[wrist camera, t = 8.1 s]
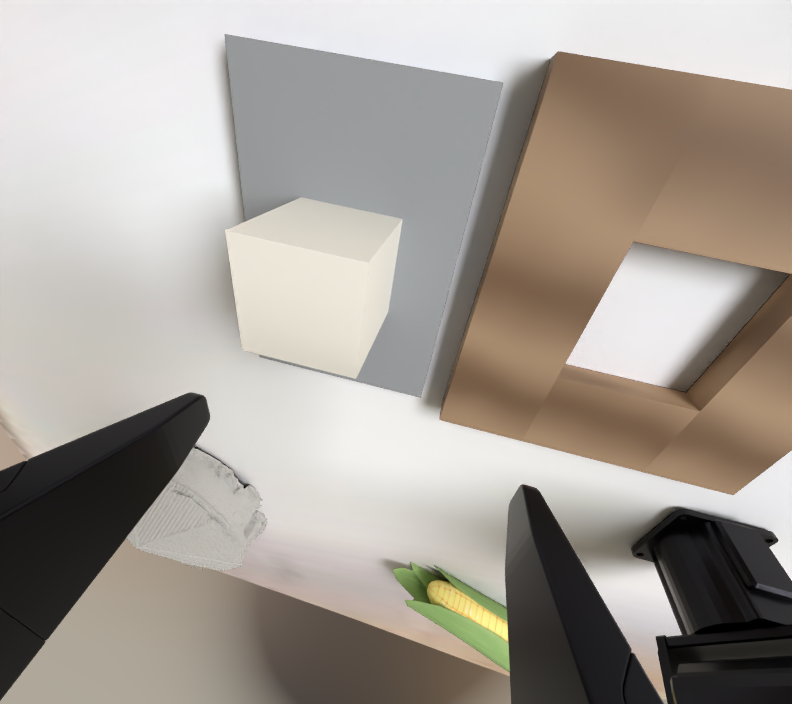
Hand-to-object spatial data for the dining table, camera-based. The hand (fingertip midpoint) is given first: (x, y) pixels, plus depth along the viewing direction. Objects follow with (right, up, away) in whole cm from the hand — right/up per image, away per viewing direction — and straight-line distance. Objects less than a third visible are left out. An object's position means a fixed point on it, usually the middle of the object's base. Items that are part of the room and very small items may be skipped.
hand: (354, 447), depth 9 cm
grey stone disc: (-22, -12, +29) cm, 38 cm away
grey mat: (-1, +8, +9) cm, 12 cm away
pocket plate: (+14, +4, +8) cm, 17 cm away
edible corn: (+10, -24, +29) cm, 39 cm away
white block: (-1, +7, +8) cm, 11 cm away
